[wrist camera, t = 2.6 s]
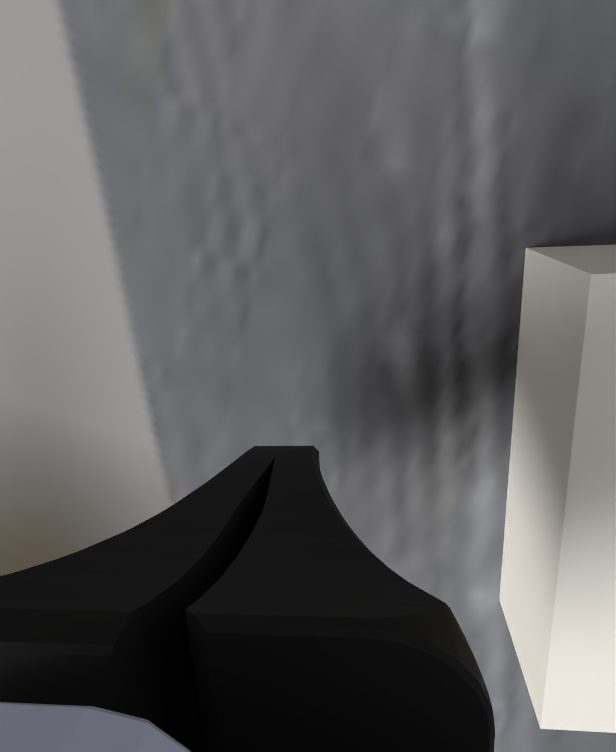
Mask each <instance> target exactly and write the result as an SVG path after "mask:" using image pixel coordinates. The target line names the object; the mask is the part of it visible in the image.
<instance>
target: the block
mask: <svg viewBox="0 0 616 752" xmlns="http://www.w3.org/2000/svg"><path fill="white" fill-rule="evenodd" d="M500 603H501V606H502V609H503V612H504V615H505V618H506V622H507V625H508V628H509V631H510V634H511V637H512V640H513V644H514V647H515V650H516V653H517V656H518V659H519V662H520V666H521V669H522V672H523V675H524V678H525V681H526V685H527V688H528V691H529V694H530V697H531V700H532V703H533V707H534V710H535V713H536V716H537V719H538V722H539V725H540V729H556V730H575V731H594V732H612V733H616V245H589V246H561V247H533V248H526V251H525V264H524V278H523V291H522V305H521V318H520V332H519V345H518V359H517V372H516V385H515V399H514V412H513V426H512V439H511V453H510V466H509V480H508V493H507V507H506V520H505V533H504V547H503V560H502V574H501V587H500Z"/></svg>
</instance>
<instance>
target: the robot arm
mask: <svg viewBox="0 0 616 752" xmlns="http://www.w3.org/2000/svg"><path fill="white" fill-rule="evenodd" d="M494 740H495V727H494V716H493V710H492V705H491V701H490V698H489V694H488V691H487V688H486V685H485V683H484V680H483V677H482V675H481V672H480V670H479V667H478V665H477V662H476V659H475V657H474V655H473V653H472V651H471V648H470V646H469V644H468V642H467V640H466V638H465V636H464V634H463V632H462V630H461V628H460V626H459V624H458V622H457V620H456V619H455V617H454V615H453V613H452V611H451V609H450V608H449V607H448V605H447V604H446V603H444V602H442V601H441V600H439V599H437V598H435V597H434V596H432V595H430V594H428V593H427V592H425V591H423V590H421V589H420V588H418V587H416V586H414V585H413V584H411V583H409V582H408V581H406V580H405V579H403V578H402V577H400V576H399V575H398V574H396V573H395V572H394V571H392V570H391V569H390V568H388V567H387V566H386V565H385V564H384V563H383V562H381V561H380V560H379V559H378V558H377V557H376V556H375V555H374V554H373V553H372V552H371V551H370V550H369V549H368V548H367V547H366V546H365V545H364V544H363V543H362V541H361V540H360V539H359V538H358V537H357V536H356V534H355V533H354V532H353V531H352V529H351V528H350V527H349V525H348V524H347V522H346V521H345V520H344V518H343V517H342V515H341V513H340V512H339V510H338V508H337V507H336V505H335V503H334V502H333V500H332V498H331V496H330V494H329V492H328V489H327V487H326V485H325V483H324V480H323V478H322V475H321V472H320V465H319V451H318V450H317V449H316V448H315V447H314V446H254V447H253V448H251V449H250V450H248V451H247V452H246V453H244V454H243V455H242V456H240V457H239V458H238V459H236V460H235V461H234V462H233V463H231V464H230V465H229V466H228V467H226V468H225V469H224V470H222V471H221V472H220V473H218V474H217V475H216V476H214V477H213V478H212V479H210V480H209V481H208V482H206V483H205V484H204V485H202V486H201V487H199V488H198V489H196V490H195V491H193V492H192V493H190V494H189V495H187V496H186V497H184V498H183V499H181V500H180V501H178V502H177V503H175V504H174V505H172V506H171V507H169V508H168V509H166V510H164V511H162V512H161V513H159V514H158V515H156V516H154V517H152V518H150V519H148V520H146V521H144V522H143V523H141V524H139V525H137V526H135V527H133V528H131V529H129V530H127V531H125V532H123V533H120V534H118V535H116V536H113V537H111V538H109V539H107V540H104V541H102V542H100V543H97V544H95V545H93V546H90V547H88V548H85V549H83V550H81V551H78V552H75V553H73V554H70V555H67V556H64V557H61V558H59V559H56V560H53V561H50V562H47V563H44V564H41V565H38V566H34V567H31V568H28V569H25V570H21V571H18V572H15V573H11V574H7V575H3V576H0V752H494Z"/></svg>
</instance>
